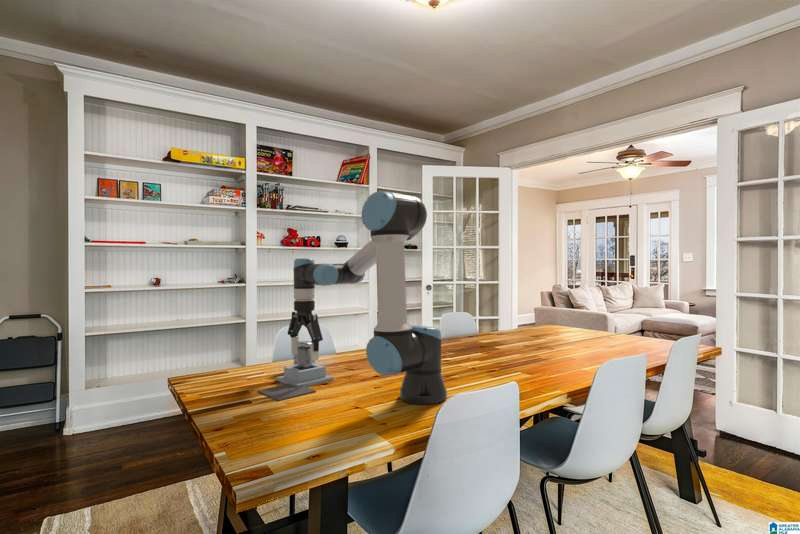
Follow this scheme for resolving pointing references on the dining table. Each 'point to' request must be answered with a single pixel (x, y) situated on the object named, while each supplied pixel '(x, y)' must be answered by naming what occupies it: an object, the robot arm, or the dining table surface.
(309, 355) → the grey capped cylinder
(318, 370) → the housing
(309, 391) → the mat
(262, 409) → the dining table surface
